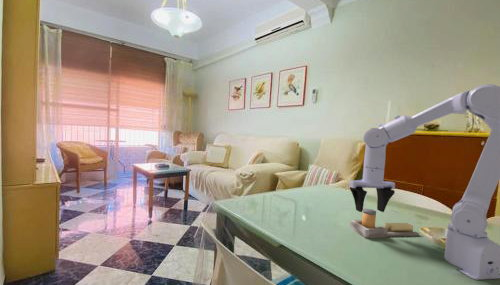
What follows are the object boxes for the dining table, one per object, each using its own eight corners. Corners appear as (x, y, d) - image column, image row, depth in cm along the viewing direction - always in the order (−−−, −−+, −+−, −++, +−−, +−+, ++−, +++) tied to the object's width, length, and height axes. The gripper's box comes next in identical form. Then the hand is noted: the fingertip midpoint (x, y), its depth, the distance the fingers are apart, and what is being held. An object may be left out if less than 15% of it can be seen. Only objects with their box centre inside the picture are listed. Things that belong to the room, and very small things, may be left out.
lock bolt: (412, 233, 75) (413, 225, 75) (390, 233, 74) (391, 226, 74) (405, 230, 78) (406, 222, 78) (384, 230, 76) (385, 222, 76)
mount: (424, 239, 73) (425, 229, 73) (364, 240, 69) (365, 229, 69) (404, 229, 81) (405, 220, 80) (349, 229, 77) (350, 220, 76)
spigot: (376, 234, 72) (378, 212, 72) (366, 235, 71) (368, 212, 71) (368, 230, 76) (370, 208, 75) (358, 230, 75) (360, 208, 75)
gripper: (384, 166, 78) (380, 207, 79) (345, 164, 75) (341, 206, 76) (402, 170, 71) (397, 214, 72) (359, 168, 68) (355, 214, 69)
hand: (369, 211), depth 73 cm, fingers open, 7 cm apart
